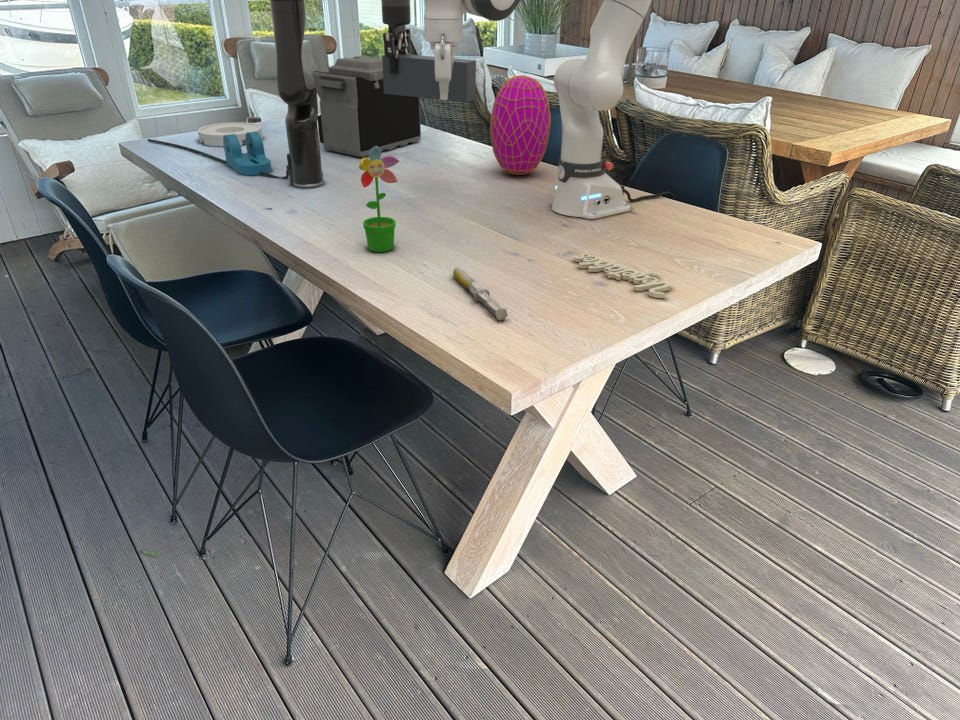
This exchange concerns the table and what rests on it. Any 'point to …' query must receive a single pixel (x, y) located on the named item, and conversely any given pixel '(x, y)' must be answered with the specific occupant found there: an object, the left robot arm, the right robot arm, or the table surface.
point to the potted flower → (378, 227)
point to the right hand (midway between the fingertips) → (444, 96)
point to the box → (429, 78)
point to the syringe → (479, 293)
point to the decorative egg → (520, 125)
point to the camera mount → (246, 154)
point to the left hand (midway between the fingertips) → (398, 72)
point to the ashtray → (226, 132)
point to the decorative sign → (625, 274)
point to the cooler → (363, 109)
